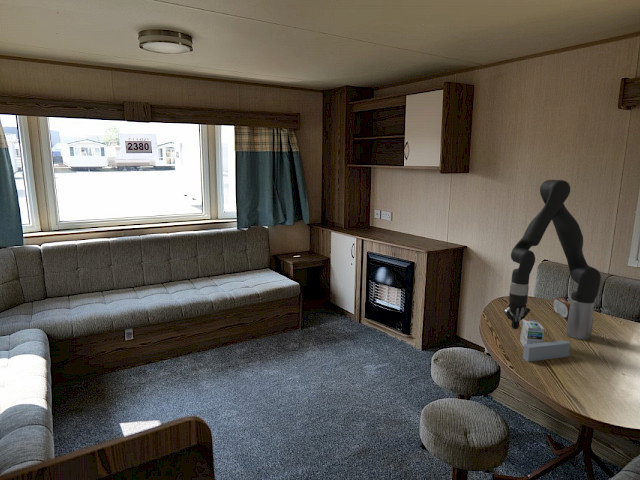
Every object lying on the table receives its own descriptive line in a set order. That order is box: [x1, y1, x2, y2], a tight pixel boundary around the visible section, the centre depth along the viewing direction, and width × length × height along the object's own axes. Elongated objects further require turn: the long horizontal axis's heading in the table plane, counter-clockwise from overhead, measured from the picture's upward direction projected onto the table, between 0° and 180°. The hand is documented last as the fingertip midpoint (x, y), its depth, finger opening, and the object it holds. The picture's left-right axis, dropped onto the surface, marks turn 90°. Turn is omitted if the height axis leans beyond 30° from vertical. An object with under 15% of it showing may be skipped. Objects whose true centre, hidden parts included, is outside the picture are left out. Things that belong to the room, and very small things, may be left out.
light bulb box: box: [519, 318, 545, 348], centre depth 186 cm, size 11×7×11 cm, turn 168°
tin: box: [552, 297, 570, 320], centre depth 223 cm, size 15×3×8 cm, turn 179°
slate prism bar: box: [522, 339, 571, 363], centre depth 176 cm, size 20×3×6 cm, turn 105°
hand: (514, 328), depth 196 cm, fingers closed
